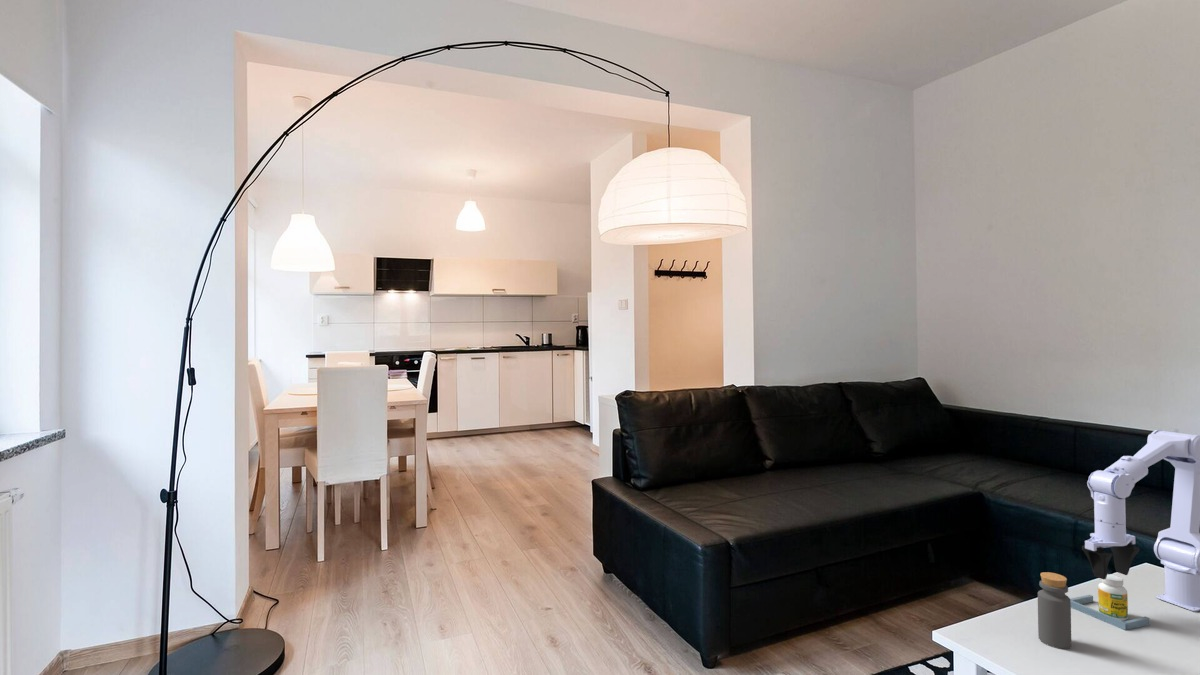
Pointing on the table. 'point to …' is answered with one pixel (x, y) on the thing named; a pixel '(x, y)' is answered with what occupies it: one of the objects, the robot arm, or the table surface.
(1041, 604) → the bottle
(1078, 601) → the blue-grey u-shaped bracket
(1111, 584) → the supplement bottle
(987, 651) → the table surface
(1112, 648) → the table surface
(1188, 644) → the table surface
